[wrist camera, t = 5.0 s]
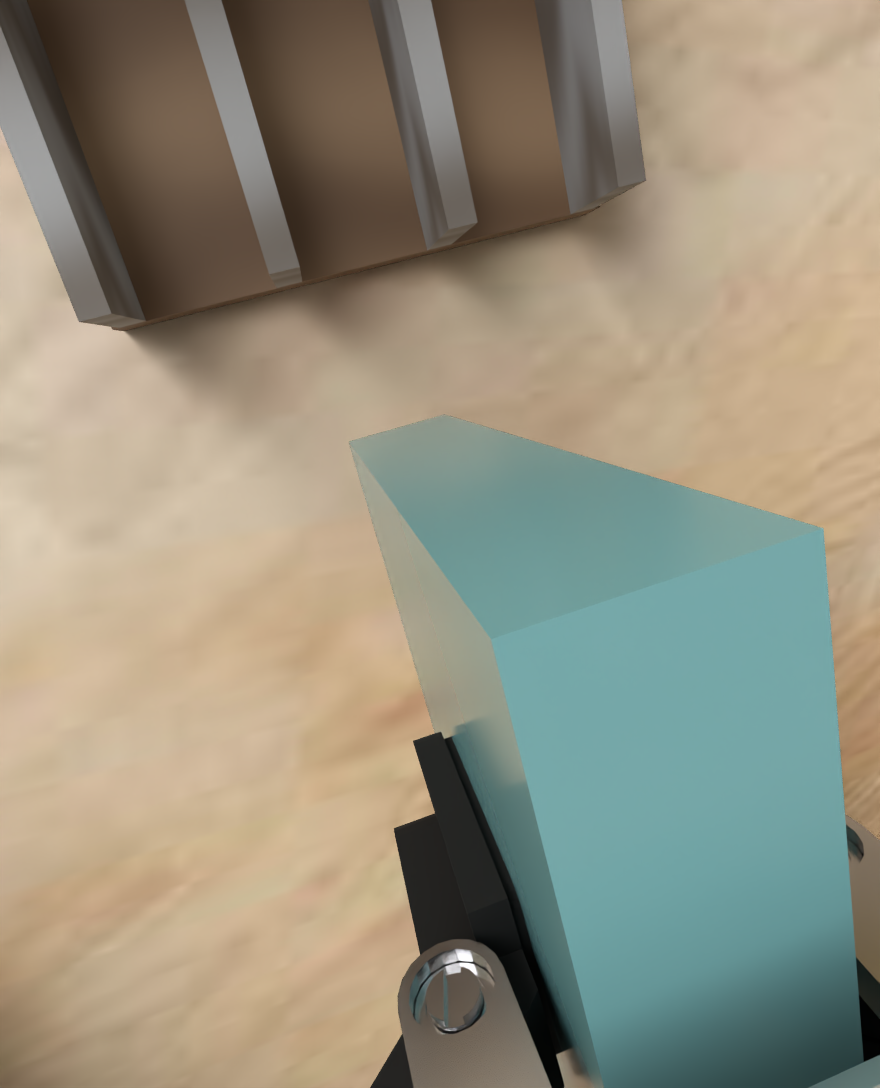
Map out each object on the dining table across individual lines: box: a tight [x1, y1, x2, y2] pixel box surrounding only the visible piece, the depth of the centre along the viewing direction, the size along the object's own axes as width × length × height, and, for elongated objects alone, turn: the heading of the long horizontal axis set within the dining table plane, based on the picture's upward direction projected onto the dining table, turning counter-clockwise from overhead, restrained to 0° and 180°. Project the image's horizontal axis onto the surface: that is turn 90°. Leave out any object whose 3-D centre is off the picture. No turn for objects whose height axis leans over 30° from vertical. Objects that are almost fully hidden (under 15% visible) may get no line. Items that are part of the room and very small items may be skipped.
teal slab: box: [349, 414, 864, 1088], centre depth 12 cm, size 12×2×12 cm, turn 14°
